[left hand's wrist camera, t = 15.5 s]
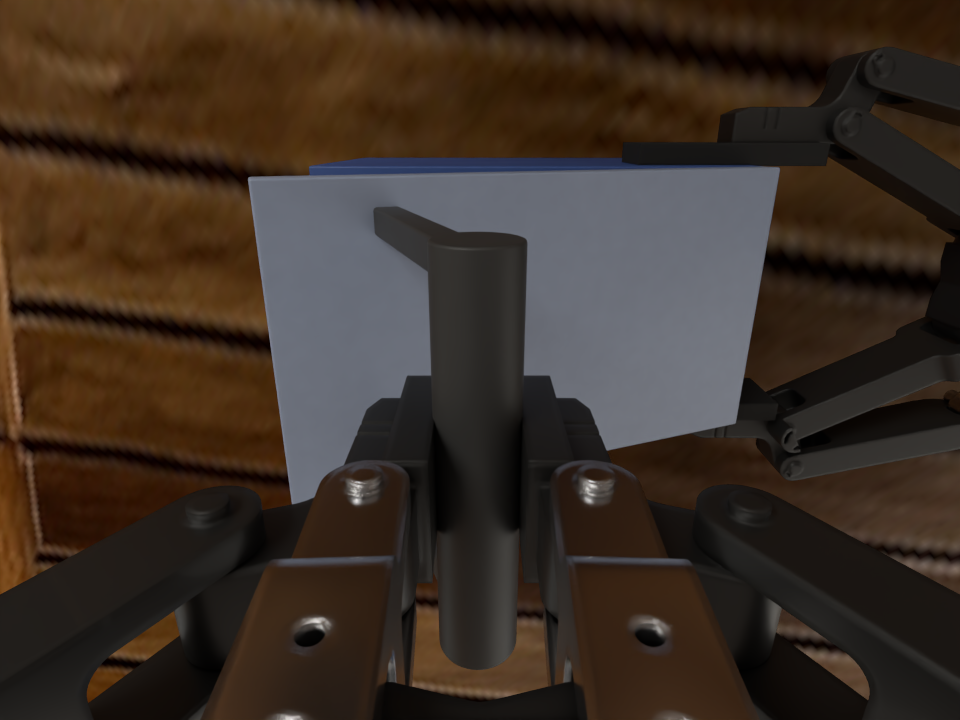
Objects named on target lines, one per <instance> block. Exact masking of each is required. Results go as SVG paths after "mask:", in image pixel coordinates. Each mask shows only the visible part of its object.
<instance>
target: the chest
mask: <svg viewBox="0 0 960 720" xmlns="http://www.w3.org/2000/svg"><path fill="white" fill-rule="evenodd" d="M711 167H760V166H755V165H635V164H629V163H624V162H622V158H361V159H354V160H347V161H341V162H334V163H327V164H320V165H314V166H310V167H309V171H310V176H318V175H367V174H416V173H465V172H514V171H564V170H613V169H662V168H711ZM762 167H763V166H762Z"/></svg>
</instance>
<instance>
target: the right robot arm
mask: <svg viewBox="0 0 960 720" xmlns="http://www.w3.org/2000/svg"><path fill="white" fill-rule="evenodd" d="M826 83H827V85H826V87H825V89H824V90H823V92H822V94H821V96H820V97H819V99H818V100H817V101H816V102H815V103H813V104H812V105H810V106H809V107H748V108H740V109H734V110H732V111H729V112H727V113H724V114H722V115H721V117H720V125H719V132H718V140H717V142H623V153H622V162H624V163H629V164H635V165H755V166H826V163H827V158H828V157H830V158H831V159H833V160H835V161H836V162H838V163H839V164H841V165H843V166H844V167H846V168H848V169H849V170H851V171H853V172H854V173H856V174H858V175H859V176H861V177H862V178H864V179H866V180H867V181H869V182H871V183H872V184H874V185H876V186H877V187H879V188H881V189H882V190H884V191H885V192H887V193H889V194H890V195H892V196H894V197H895V198H897V199H899V200H900V201H902V202H904V203H905V204H907V205H908V206H910V207H912V208H913V209H915V210H917V211H918V212H920V213H922V214H923V215H925V216H926V217H927V221H929V222H930V223H932V224H934V225H935V226H937V227H939V228H940V229H942V230H943V231H945V232H947V233H948V234H950V235H952V236H953V237H955V238H956V239H955V240H954V242H946V244H945V248H944V251H943V255H942V258H941V279H940V282H939V284H938V285H937V287H936V289H935V291H934V293H933V294H932V296H931V298H930V301H929V304H928V308H927V312H926V315H925V316H926V317H924V318H921V319H919V320H917V321H914V322H912V323H910V324H907V325H905V326H903V327H901V328H899V329H898V330H897V331H896V336H895V337H893V338H891V339H888V340H886V341H884V342H881V343H879V344H877V345H874V346H872V347H870V348H867V349H865V350H863V351H860V352H858V353H856V354H853V355H851V356H849V357H846V358H844V359H842V360H839V361H837V362H835V363H832V364H830V365H828V366H825V367H823V368H821V369H818V370H816V371H813V372H811V373H809V374H806V375H804V376H802V377H799V378H797V379H795V380H792V381H790V382H788V383H785V384H783V385H781V386H778V387H776V388H774V389H771V390H769V391H767V392H765V391H764V390H763V389H761V388H760V387H759V386H758V385H757V384H756V383H755V382H754V381H753V380H751V379H750V378H744V379H743V384H742V390H741V396H740V402H739V407H738V413H737V419H736V423H735V424H731V425H727V426H722V427H717V428H712V429H707V430H703V431H698V432H693V433H690V434H693V435H695V436H698V437H701V438H714V437H716V438H723V437H725V438H757V440H756V445H757V448H758V449H759V450H760V451H761V453H762V454H763V455H764V456H765V457H766V458H767V459H768V461H769V462H770V463H771V464H772V465H773V466H774V467H775V469H776V470H777V471H778V472H779V473H780V474H781V475H782V476H783V477H784V478H785V479H787V480H790V481H793V480H800V479H806V478H811V477H816V476H821V475H826V474H832V473H837V472H842V471H847V470H853V469H858V468H863V467H868V466H873V465H879V464H884V463H889V462H894V461H900V460H905V459H910V458H915V457H920V456H926V455H931V454H936V453H941V452H947V451H952V450H957V449H960V392H957V391H955V390H950V391H948V392H947V393H945V395H944V399H923V400H916V401H910V402H905V403H900V404H895V405H890V406H885V407H880V406H882V405H885V404H887V403H889V402H892V401H894V400H897V399H899V398H902V397H904V396H907V395H909V394H911V393H914V392H916V391H919V390H921V389H924V388H926V387H929V386H931V385H933V384H936V383H938V382H942V381H954V382H957V381H960V170H959V169H958V168H956V167H955V166H953V165H951V164H950V163H948V162H947V161H945V160H943V159H942V158H940V157H939V156H937V155H936V154H934V153H932V152H931V151H929V150H928V149H926V148H924V147H923V146H921V145H920V144H918V143H917V142H915V141H913V140H912V139H910V138H909V137H907V136H905V135H904V134H902V133H901V132H899V131H898V130H896V129H894V128H893V127H891V126H890V125H888V124H886V123H885V122H883V121H882V120H880V119H879V118H877V117H875V116H874V115H872V114H871V113H869V112H870V110H871V108H872V106H873V105H874V103H876V104H880V105H884V106H887V107H891V108H895V109H898V110H902V111H905V112H909V113H913V114H916V115H920V116H923V117H927V118H931V119H934V120H938V121H942V122H945V123H949V124H952V125H956V126H960V66H957V65H953V64H950V63H946V62H943V61H939V60H936V59H932V58H929V57H925V56H922V55H918V54H915V53H911V52H908V51H904V50H901V49H897V48H894V47H883V48H879V49H874V50H870V51H866V52H862V53H857V54H853V55H849V56H844V57H841V58H839V59H837V60H835V61H834V62H833V63H832V64H831V65H830V67H829V69H828V70H827V74H826ZM877 407H880V408H877Z"/></svg>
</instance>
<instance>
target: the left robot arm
mask: <svg viewBox="0 0 960 720" xmlns="http://www.w3.org/2000/svg"><path fill="white" fill-rule="evenodd" d="M437 531H438V527H437V495H436V462H435V430H434V419H433V416H432V387H431V375H408V376H407V377H406V381H405V384H404V387H403V391H402V394H401V397H400V398H381V399H380V400H378V401H377V402H376V403H374V404H373V405H372V406H370V407H369V408H368V409H367V410H366V412H365V415H364V417H363V420H362V424H361V425H360V427H359V429H358V432H357V435H356V437H355V439H354V441H353V444H352V446H351V449H350V451H349V454H348V456H347V458H346V461H345V463H344V465H343V466H340V467H338V468H336V469H334V470H333V471H331V472H329V473H328V474H327V475H326V476H325V477H324V478H323V479H322V480H321V482H320V484H319V486H318V489H317V491H316V494H315V497H314V498H311V499H309V500H306V501H303V502H300V503H296V504H292V505H287V506H282V507H277V508H272V509H267V510H262V505H261V499H260V497H259V495H258V494H256V493H255V492H254V491H252V490H250V489H248V488H245V487H240V486H218V487H211V488H207V489H203V490H199V491H196V492H193V493H191V494H188V495H186V496H184V497H182V498H180V499H178V500H176V501H174V502H172V503H170V504H169V505H167V506H165V507H163V508H161V509H159V510H157V511H155V512H154V513H152V514H150V515H148V516H146V517H144V518H142V519H141V520H139V521H137V522H135V523H133V524H131V525H129V526H127V527H126V528H124V529H122V530H120V531H118V532H116V533H114V534H113V535H111V536H109V537H107V538H105V539H103V540H101V541H99V542H98V543H96V544H94V545H92V546H90V547H88V548H86V549H85V550H83V551H81V552H79V553H77V554H75V555H73V556H71V557H70V558H68V559H66V560H64V561H62V562H60V563H58V564H57V565H55V566H53V567H51V568H49V569H47V570H45V571H43V572H42V573H40V574H38V575H36V576H34V577H32V578H30V579H29V580H27V581H25V582H23V583H21V584H19V585H17V586H15V587H14V588H12V589H10V590H8V591H6V592H4V593H2V594H1V595H0V720H960V595H959V594H958V593H956V592H954V591H952V590H950V589H948V588H946V587H944V586H943V585H941V584H939V583H937V582H935V581H933V580H931V579H930V578H928V577H926V576H924V575H922V574H920V573H918V572H916V571H915V570H913V569H911V568H909V567H907V566H905V565H903V564H902V563H900V562H898V561H896V560H894V559H892V558H890V557H888V556H887V555H885V554H883V553H881V552H879V551H877V550H875V549H874V548H872V547H870V546H868V545H866V544H864V543H862V542H861V541H859V540H857V539H855V538H853V537H851V536H849V535H847V534H846V533H844V532H842V531H840V530H838V529H836V528H834V527H833V526H831V525H829V524H827V523H825V522H823V521H821V520H819V519H818V518H816V517H814V516H812V515H810V514H808V513H806V512H805V511H803V510H801V509H799V508H797V507H795V506H793V505H791V504H790V503H788V502H786V501H784V500H782V499H780V498H778V497H776V496H774V495H772V494H770V493H768V492H765V491H762V490H759V489H756V488H752V487H747V486H742V485H729V484H727V485H717V486H713V487H710V488H707V489H705V490H703V491H702V492H701V493H700V494H699V496H698V498H697V503H696V509H695V511H694V510H689V509H684V508H679V507H674V506H669V505H664V504H660V503H656V502H653V501H650V500H647V499H646V497H645V494H644V492H643V489H642V486H641V484H640V482H639V480H638V479H637V478H636V477H635V476H634V475H633V474H632V473H631V472H629V471H627V470H626V469H624V468H622V467H620V466H617V465H614V464H612V463H611V460H610V458H609V455H608V453H607V450H606V448H605V445H604V443H603V440H602V438H601V435H599V430H598V428H597V425H596V424H595V420H594V418H593V415H592V413H591V410H590V409H589V408H588V407H587V406H585V405H584V404H583V403H581V402H580V401H579V400H577V399H576V398H556V395H555V391H554V388H553V384H552V381H551V378H550V375H524V385H523V417H522V433H521V468H520V503H519V535H520V545H521V555H522V566H523V576H524V583H539V587H540V594H541V599H542V602H543V604H544V616H543V623H544V638H545V652H546V666H547V681H548V687H545V688H541V689H537V690H532V691H528V692H524V693H520V694H516V695H512V696H508V697H504V698H500V699H496V700H492V701H486V702H474V701H468V700H464V699H460V698H456V697H452V696H448V695H444V694H440V693H436V692H432V691H428V690H423V689H419V688H415V687H412V681H413V666H414V652H415V638H416V623H417V616H416V597H415V593H416V586H417V583H432V579H433V569H434V560H435V550H436V541H437ZM782 608H783V609H784V610H786V611H787V612H789V613H790V614H791V615H793V616H794V617H796V618H797V619H799V620H800V621H801V622H803V623H804V624H806V625H807V626H809V627H810V628H811V629H813V630H814V631H816V632H817V633H819V634H820V635H822V636H823V637H824V638H826V639H827V640H829V641H830V642H832V643H833V644H834V645H836V646H837V647H839V648H840V649H842V650H843V651H844V652H846V653H847V654H848V655H849V656H850V657H851V658H853V659H854V660H855V662H856V663H857V664H858V665H859V666H860V668H861V669H862V671H863V672H864V674H865V676H866V678H867V681H868V684H869V688H870V696H869V700H867V699H865V698H864V697H863V696H861V695H860V694H858V693H857V692H856V691H854V690H853V689H852V688H850V687H849V686H848V685H846V684H845V683H844V682H842V681H841V680H840V679H838V678H837V677H835V676H834V675H833V674H831V673H830V672H829V671H827V670H826V669H825V668H823V667H822V666H821V665H819V664H818V663H817V662H815V661H814V660H812V659H811V658H810V657H808V656H807V655H806V654H804V653H803V652H802V651H800V650H799V649H798V648H796V647H795V646H794V645H792V644H791V643H789V642H788V641H787V640H785V639H784V638H783V637H781V636H780V635H779V634H777V633H776V630H777V626H778V621H779V617H780V613H781V609H782ZM173 611H174V613H175V617H176V621H177V625H178V629H179V633H180V636H179V637H177V638H176V639H175V640H173V641H172V642H171V643H169V644H168V645H166V646H165V647H164V648H162V649H161V650H160V651H158V652H157V653H156V654H154V655H153V656H152V657H150V658H149V659H148V660H146V661H145V662H143V663H142V664H141V665H139V666H138V667H137V668H135V669H134V670H133V671H131V672H130V673H129V674H127V675H126V676H125V677H123V678H122V679H120V680H119V681H118V682H116V683H115V684H114V685H112V686H111V687H110V688H108V689H107V690H106V691H104V692H103V693H102V694H100V695H99V696H97V697H96V698H95V699H93V700H92V701H91V702H89V703H88V702H87V697H86V696H87V688H88V684H89V682H90V679H91V678H92V676H93V674H94V672H95V671H96V670H97V668H98V667H99V666H100V665H101V663H102V662H103V661H104V660H105V659H107V658H108V657H109V656H110V655H111V654H113V653H114V652H115V651H117V650H118V649H120V648H121V647H123V646H124V645H126V644H127V643H128V642H130V641H131V640H133V639H134V638H136V637H137V636H138V635H140V634H141V633H143V632H144V631H146V630H147V629H148V628H150V627H151V626H153V625H154V624H156V623H157V622H159V621H160V620H161V619H163V618H164V617H166V616H167V615H169V614H170V613H171V612H173Z"/></svg>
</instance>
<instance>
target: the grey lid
mask: <svg viewBox="0 0 960 720" xmlns="http://www.w3.org/2000/svg"><path fill="white" fill-rule="evenodd" d="M779 173H780V168H779V167H762V166H760V167H711V168H662V169H613V170H564V171H514V172H465V173H416V174H367V175H318V176H269V177H249V178H248V183H249V190H250V197H251V205H252V212H253V219H254V227H255V234H256V242H257V249H258V256H259V264H260V271H261V278H262V286H263V293H264V300H265V308H266V315H267V323H268V330H269V337H270V345H271V352H272V359H273V367H274V374H275V381H276V389H277V396H278V404H279V411H280V418H281V426H282V433H283V440H284V448H285V455H286V462H287V470H288V477H289V485H290V492H291V499H292V504H296V503H300V502H303V501H306V500H309V499H311V498H314V497H315V494H316V491H317V489H318V486H319V484H320V482H321V480H322V479H323V478H324V477H325V476H326V475H327V474H328V473H329V472H331V471H333V470H334V469H336V468H338V467H340V466H343V465H344V463H345V461H346V458H347V456H348V454H349V451H350V449H351V446H352V444H353V441H354V439H355V437H356V435H357V432H358V429H359V427H360V425H361V424H362V420H363V417H364V415H365V412H366V410H367V409H368V408H369V407H370V406H372V405H373V404H374V403H376V402H377V401H378V400H380V399H381V398H400V397H401V394H402V391H403V387H404V384H405V381H406V377H407V376H408V375H431V387H432V416H433V419H434V430H435V462H436V495H437V527H438V531H437V541H436V550H435V560H434V569H433V572H434V574H435V576H436V579H437V581H438V604H439V634H440V645H441V648H442V650H443V652H444V653H445V655H446V656H447V657H448V658H449V659H450V660H451V661H452V662H453V663H455V664H457V665H459V666H461V667H464V668H467V669H472V670H483V669H489V668H492V667H495V666H497V665H499V664H501V663H502V662H504V661H505V660H506V659H507V658H508V657H509V656H510V654H511V653H512V651H513V650H514V647H515V644H516V627H517V592H518V558H519V503H520V468H521V433H522V417H523V385H524V375H550V378H551V381H552V384H553V388H554V391H555V395H556V398H576V399H577V400H579V401H580V402H581V403H583V404H584V405H585V406H587V407H588V408H589V409H590V410H591V413H592V415H593V418H594V420H595V424H596V425H597V428H598V430H599V435H601V438H602V440H603V443H604V445H605V448H606V450H612V449H617V448H622V447H626V446H631V445H636V444H641V443H645V442H650V441H655V440H660V439H665V438H669V437H674V436H679V435H684V434H688V433H693V432H698V431H703V430H707V429H712V428H717V427H722V426H727V425H731V424H735V423H736V419H737V413H738V407H739V402H740V396H741V390H742V384H743V379H744V373H745V367H746V361H747V356H748V350H749V344H750V339H751V333H752V327H753V321H754V316H755V310H756V304H757V299H758V293H759V287H760V281H761V276H762V270H763V264H764V258H765V253H766V247H767V241H768V236H769V230H770V224H771V218H772V213H773V207H774V201H775V195H776V190H777V184H778V178H779Z"/></svg>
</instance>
